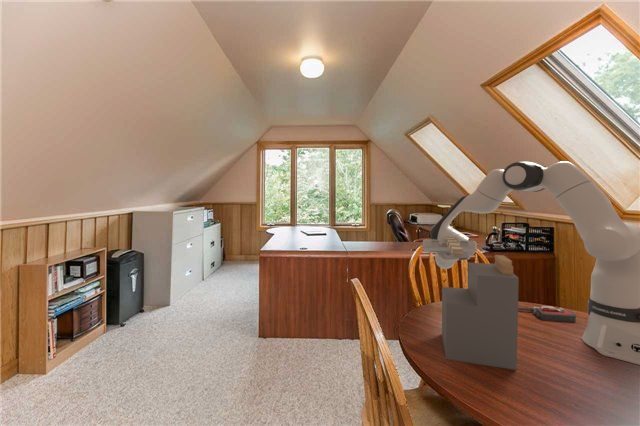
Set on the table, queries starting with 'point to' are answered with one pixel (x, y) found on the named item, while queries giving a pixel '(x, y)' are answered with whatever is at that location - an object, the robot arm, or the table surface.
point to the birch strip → (454, 246)
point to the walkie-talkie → (552, 313)
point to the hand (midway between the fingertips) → (450, 239)
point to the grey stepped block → (483, 316)
